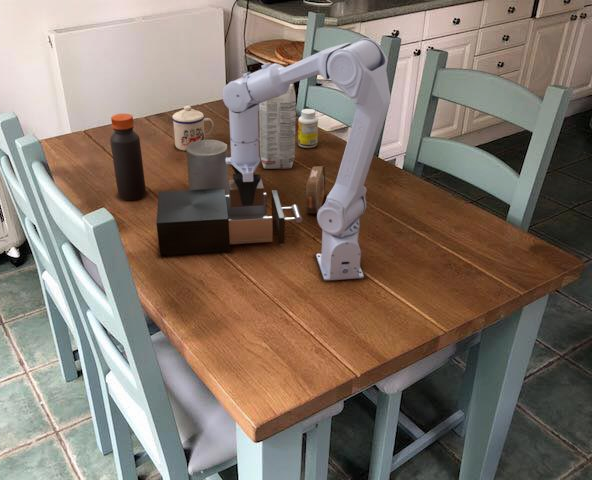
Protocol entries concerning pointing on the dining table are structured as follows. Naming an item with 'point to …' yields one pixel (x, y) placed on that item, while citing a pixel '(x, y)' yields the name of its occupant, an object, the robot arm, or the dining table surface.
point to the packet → (236, 200)
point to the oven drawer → (259, 221)
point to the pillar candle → (207, 165)
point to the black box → (193, 222)
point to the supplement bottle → (307, 129)
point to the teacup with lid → (189, 127)
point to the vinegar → (127, 158)
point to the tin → (315, 189)
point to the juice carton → (278, 130)
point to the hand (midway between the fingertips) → (246, 198)
